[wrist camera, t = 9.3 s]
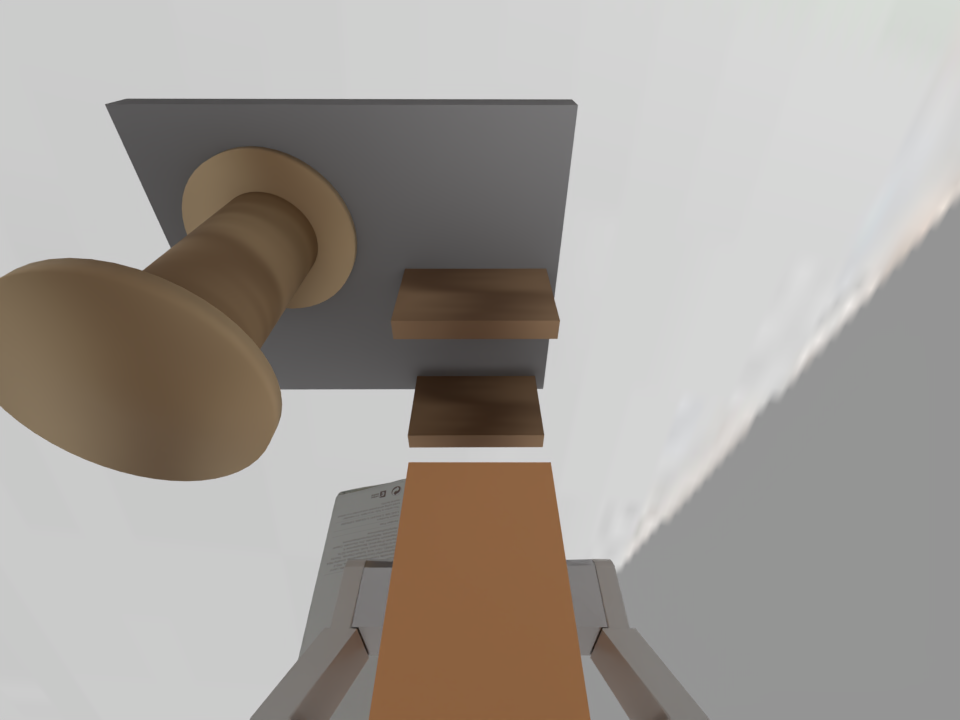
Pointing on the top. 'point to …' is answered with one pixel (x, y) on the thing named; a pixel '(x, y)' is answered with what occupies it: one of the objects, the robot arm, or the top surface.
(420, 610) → the orange block
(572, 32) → the top surface
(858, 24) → the top surface
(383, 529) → the skincare box
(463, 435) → the notch
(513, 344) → the board
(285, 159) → the bobbin
